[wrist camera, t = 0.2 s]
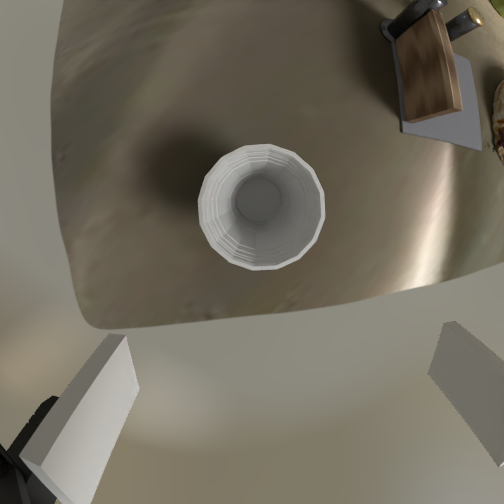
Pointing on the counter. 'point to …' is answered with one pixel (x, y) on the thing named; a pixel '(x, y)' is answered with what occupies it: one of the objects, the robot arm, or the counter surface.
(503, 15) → the plant pot
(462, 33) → the salt and pepper shakers
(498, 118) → the strawberry shortcake
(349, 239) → the counter surface
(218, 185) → the plastic cup
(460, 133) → the rubber mat
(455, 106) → the gate
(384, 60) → the counter surface
